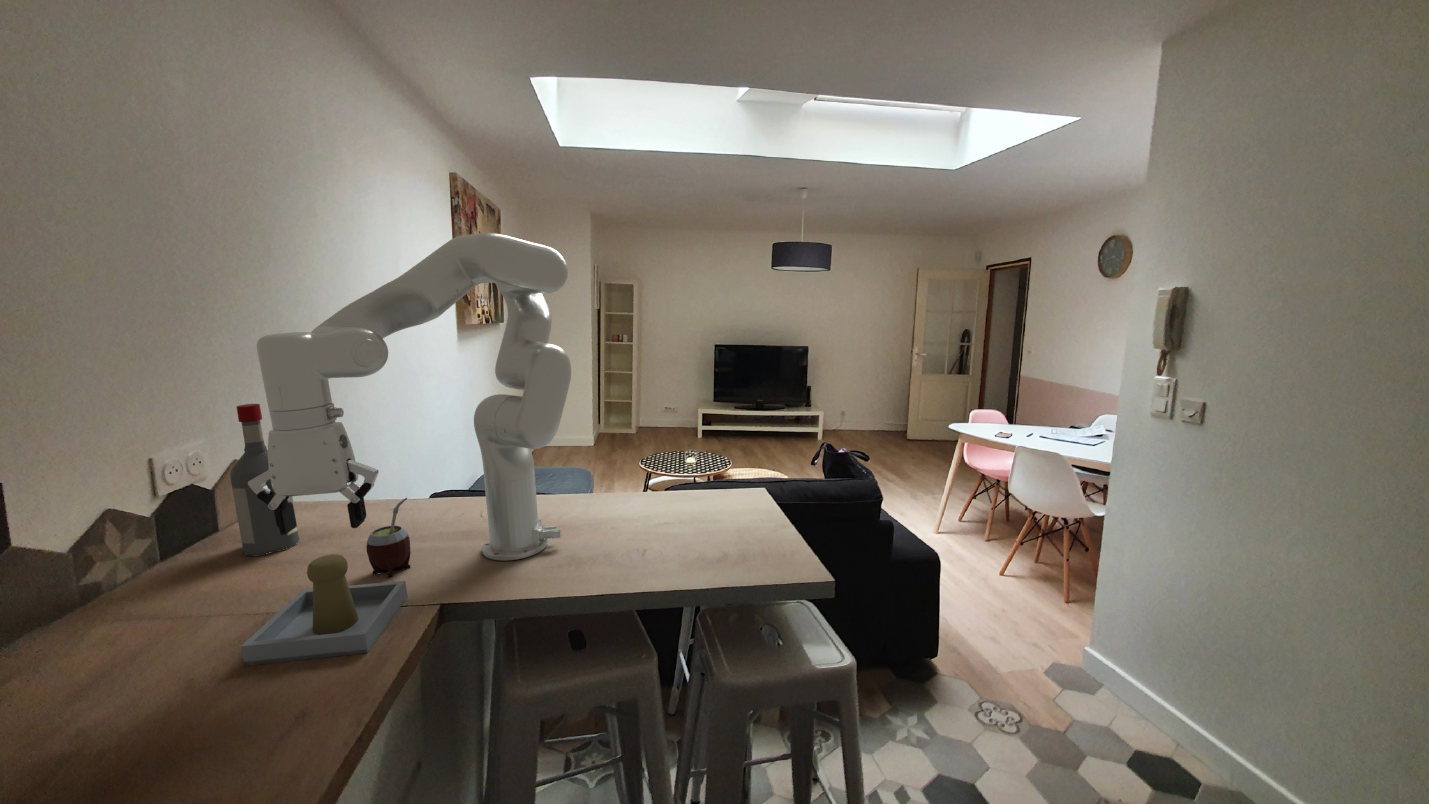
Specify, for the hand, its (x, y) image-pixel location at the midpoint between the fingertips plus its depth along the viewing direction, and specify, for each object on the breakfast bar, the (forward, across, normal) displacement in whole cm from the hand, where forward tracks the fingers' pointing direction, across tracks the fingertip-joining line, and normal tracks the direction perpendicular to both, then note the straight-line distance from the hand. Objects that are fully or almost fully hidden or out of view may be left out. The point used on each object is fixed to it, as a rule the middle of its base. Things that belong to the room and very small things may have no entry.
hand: (324, 527), depth 87 cm
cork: (+16, 0, +1) cm, 16 cm away
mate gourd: (+17, -1, -18) cm, 25 cm away
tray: (+16, +1, +1) cm, 16 cm away
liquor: (+17, +29, -35) cm, 48 cm away
